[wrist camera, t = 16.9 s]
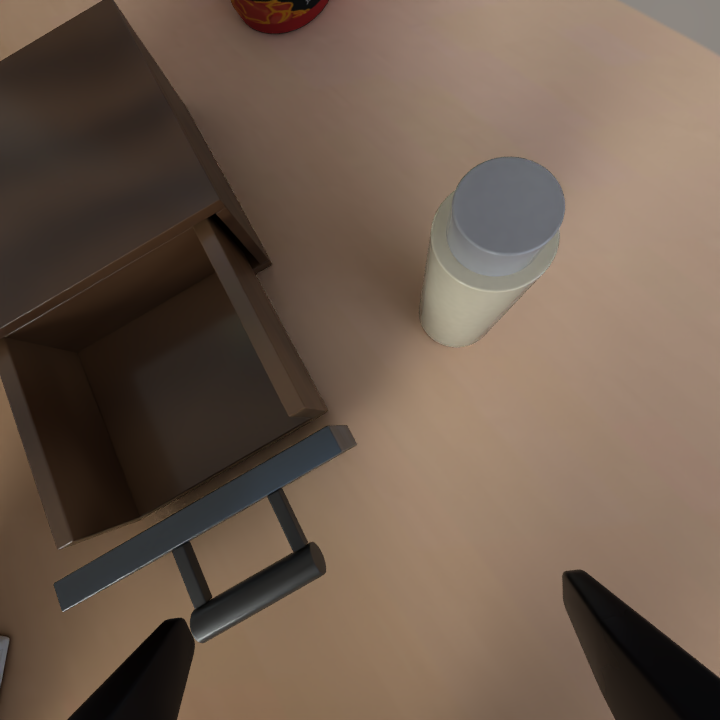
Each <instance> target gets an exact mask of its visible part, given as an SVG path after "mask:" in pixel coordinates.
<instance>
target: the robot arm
mask: <svg viewBox="0 0 720 720" xmlns="http://www.w3.org/2000/svg"><path fill="white" fill-rule="evenodd" d="M562 582H563V601H564V605H565V608H566V611H567V613H568V615H569V618H570V620H571V622H572V625H573V627H574V629H575V632H576V634H577V636H578V639H579V641H580V643H581V646H582V648H583V650H584V653H585V655H586V658H587V660H588V662H589V665H590V667H591V669H592V672H593V674H594V676H595V679H596V681H597V683H598V685H599V688H600V690H601V692H602V694H603V696H604V698H605V700H606V702H607V704H608V706H609V708H610V710H611V712H612V714H613V716H614V718H615V719H616V720H720V678H719V677H718V676H717V675H715V674H714V673H713V672H711V671H710V670H709V669H708V668H706V667H705V666H704V665H703V664H701V663H700V662H699V661H698V660H696V659H695V658H694V657H693V656H691V655H690V654H689V653H687V652H686V651H685V650H684V649H682V648H681V647H680V646H679V645H677V644H676V643H675V642H674V641H672V640H671V639H670V638H668V637H667V636H666V635H665V634H663V633H662V632H661V631H660V630H658V629H657V628H656V627H655V626H653V625H652V624H651V623H650V622H648V621H647V620H646V619H644V618H643V617H642V616H641V615H639V614H638V613H637V612H636V611H634V610H633V609H632V608H631V607H629V606H628V605H627V604H626V603H624V602H623V601H622V600H620V599H619V598H618V597H617V596H615V595H614V594H613V593H612V592H610V591H609V590H608V589H607V588H605V587H604V586H603V585H602V584H600V583H599V582H598V581H596V580H595V579H594V578H593V577H591V576H590V575H589V574H588V573H586V572H585V571H583V570H570V571H565V572H564V573H563V575H562ZM194 649H195V642H194V638H193V636H192V634H191V632H190V630H189V628H188V626H187V623H186V621H185V620H184V619H183V618H174V619H168V620H165V621H164V622H163V623H162V624H161V625H160V626H159V627H158V628H157V629H156V630H155V631H154V632H153V633H152V634H151V635H150V636H149V637H148V638H147V639H146V640H145V641H144V642H143V643H142V644H141V645H140V646H139V647H138V648H137V649H136V650H135V651H134V652H133V653H132V654H131V655H130V656H129V657H128V658H127V659H126V660H125V661H124V662H123V663H122V664H121V665H120V666H119V667H118V668H117V669H116V670H115V671H114V672H113V674H112V675H111V676H110V677H109V678H108V679H107V680H106V681H105V682H104V683H103V684H102V685H101V686H100V687H99V688H98V689H97V690H96V691H95V692H94V693H93V694H92V695H91V696H90V697H89V698H88V699H87V700H86V701H85V702H84V703H83V704H82V705H81V706H80V707H79V708H78V709H77V710H76V711H75V712H74V713H73V714H72V715H71V716H70V717H69V718H68V719H67V720H177V717H178V713H179V709H180V705H181V701H182V697H183V693H184V690H185V686H186V682H187V678H188V674H189V670H190V666H191V662H192V659H193V655H194Z"/></svg>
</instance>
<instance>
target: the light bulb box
mask: <svg viewBox="0 0 720 720" xmlns="http://www.w3.org/2000/svg"><path fill="white" fill-rule="evenodd" d="M8 646H9V638H8V637H5V636H0V687H1V682H2V676H3V671H4V666H5V660H6V655H7V650H8Z"/></svg>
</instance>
